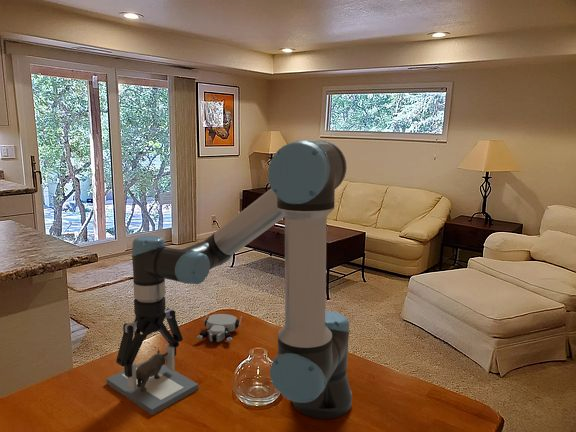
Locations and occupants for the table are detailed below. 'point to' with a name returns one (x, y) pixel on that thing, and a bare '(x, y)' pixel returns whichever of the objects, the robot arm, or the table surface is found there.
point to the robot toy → (219, 327)
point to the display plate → (155, 389)
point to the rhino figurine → (150, 369)
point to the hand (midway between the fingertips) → (152, 377)
